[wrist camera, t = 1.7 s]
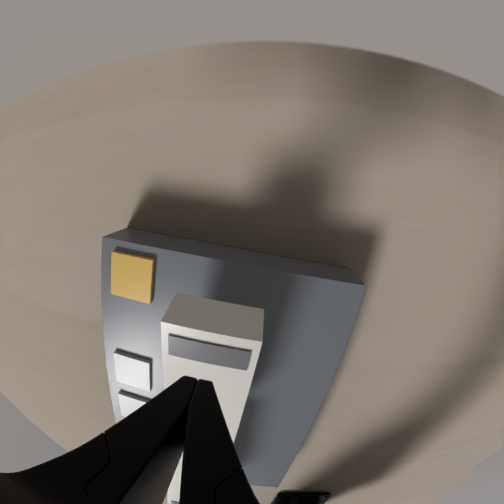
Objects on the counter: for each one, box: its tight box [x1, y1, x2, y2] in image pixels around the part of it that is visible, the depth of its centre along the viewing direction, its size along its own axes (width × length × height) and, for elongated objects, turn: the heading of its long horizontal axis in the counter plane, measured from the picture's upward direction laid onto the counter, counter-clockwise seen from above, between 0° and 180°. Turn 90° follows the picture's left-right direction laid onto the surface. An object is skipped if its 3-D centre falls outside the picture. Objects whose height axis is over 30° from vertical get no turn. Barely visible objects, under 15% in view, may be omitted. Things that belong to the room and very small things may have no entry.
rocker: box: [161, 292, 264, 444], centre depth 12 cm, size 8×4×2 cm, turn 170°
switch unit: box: [102, 228, 366, 487], centre depth 17 cm, size 20×14×4 cm
